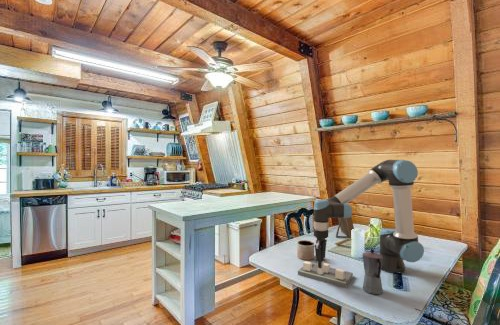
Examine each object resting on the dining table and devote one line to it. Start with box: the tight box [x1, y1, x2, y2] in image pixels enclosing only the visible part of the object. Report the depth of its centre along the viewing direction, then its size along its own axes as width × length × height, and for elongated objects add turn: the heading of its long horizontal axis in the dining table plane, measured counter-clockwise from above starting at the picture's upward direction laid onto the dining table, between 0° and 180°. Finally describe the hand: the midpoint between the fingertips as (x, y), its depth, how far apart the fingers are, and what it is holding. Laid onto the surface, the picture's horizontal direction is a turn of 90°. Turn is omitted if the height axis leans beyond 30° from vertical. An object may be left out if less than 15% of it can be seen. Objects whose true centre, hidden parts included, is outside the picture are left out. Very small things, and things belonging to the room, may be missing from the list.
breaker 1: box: [302, 260, 313, 271], centre depth 147 cm, size 4×3×4 cm
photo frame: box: [335, 216, 355, 240], centre depth 219 cm, size 15×22×25 cm
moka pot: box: [362, 249, 383, 295], centre depth 128 cm, size 10×15×20 cm, turn 2°
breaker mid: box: [323, 262, 331, 273], centre depth 145 cm, size 4×3×4 cm
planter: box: [296, 240, 315, 261], centre depth 171 cm, size 11×11×10 cm
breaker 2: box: [335, 268, 346, 280], centre depth 137 cm, size 4×3×4 cm
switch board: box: [297, 262, 354, 289], centre depth 145 cm, size 26×15×2 cm, turn 56°
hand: (320, 273), depth 138 cm, fingers closed
